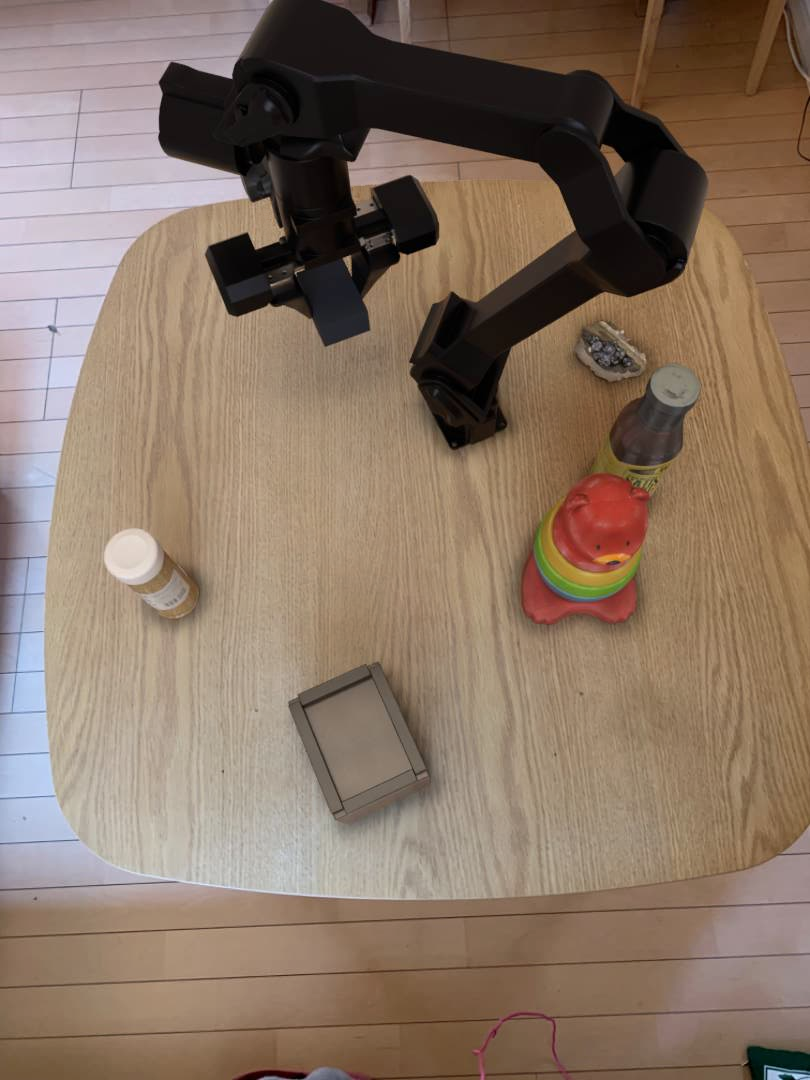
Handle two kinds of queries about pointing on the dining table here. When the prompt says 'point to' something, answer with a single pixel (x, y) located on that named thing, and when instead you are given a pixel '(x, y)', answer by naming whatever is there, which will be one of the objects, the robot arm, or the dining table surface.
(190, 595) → the sprinkles bottle
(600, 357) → the mineral rock specimen
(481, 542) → the dining table surface
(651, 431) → the sauce bottle
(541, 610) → the stacking bear
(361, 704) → the backing frame
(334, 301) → the dark blue rectangular block
